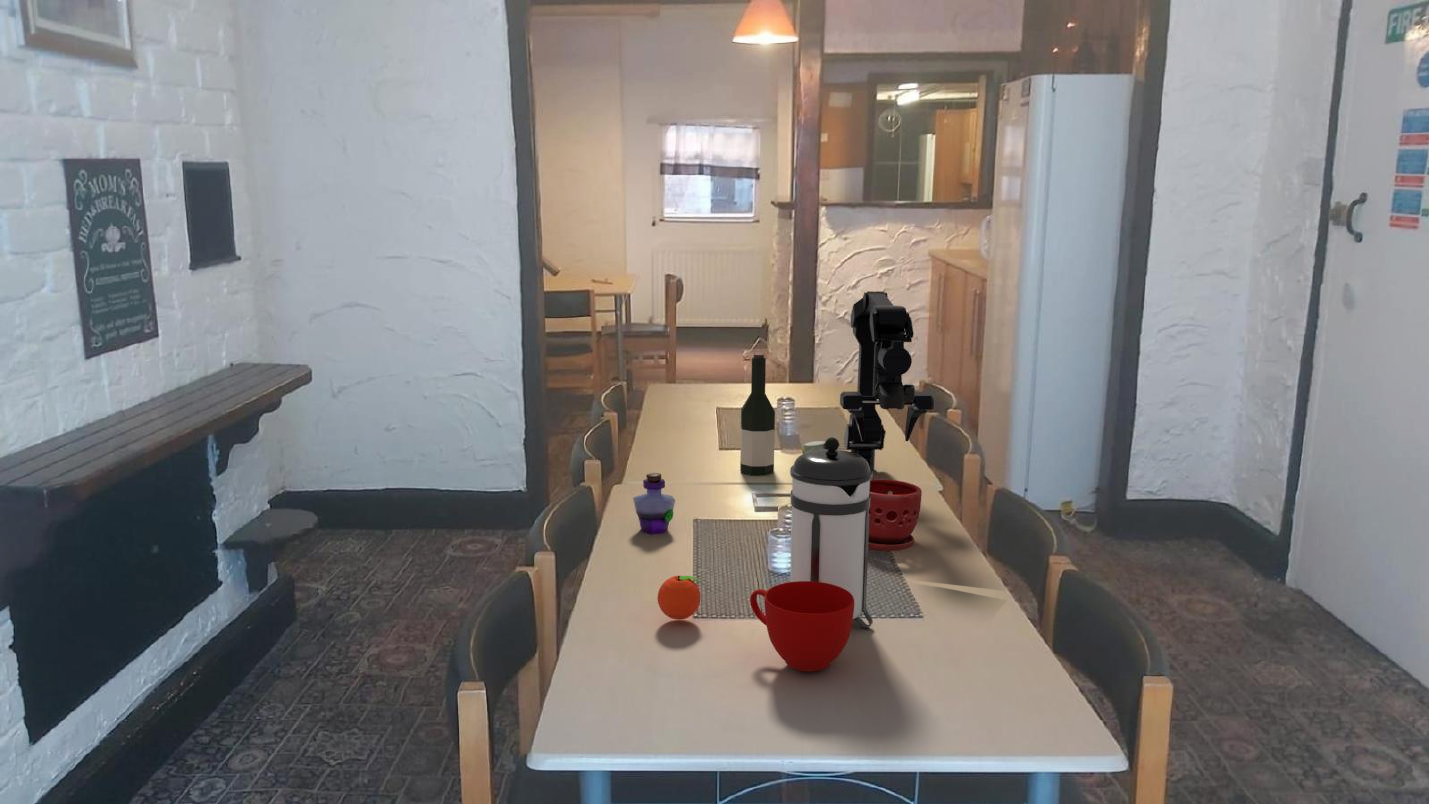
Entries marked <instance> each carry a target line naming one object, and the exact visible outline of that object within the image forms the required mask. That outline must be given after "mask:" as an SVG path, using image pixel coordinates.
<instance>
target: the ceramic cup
mask: <svg viewBox="0 0 1429 804" xmlns="http://www.w3.org/2000/svg"><path fill="white" fill-rule="evenodd" d="M758 595H760V596H762V597H763V598H764V612H762V610H761V608H760V606H759V604H758V600H757V599H758ZM749 598H750V599H749V603H750V606H751V609H752V610H751V611H752V612H753V614H754V615H755V617H756V618H757V619H758V621H760V622H761V623H763V624H764V625H765V626H766V630H767V633H768V637H769V641H770V642H771V644H772V646H773V648H774V649H775V652H776V653H777V654H778V655H779V656H780V658H781V659H782V660H783V661H784V662H785V664H786V665H787V666H788V667H790V668H791V669H795V670H798V671H803V672H817V671H821V670H825V669H827V668H828V667H830V665H831V664H832V663H833V662H834V661H835V660H836V659H837V658H838V657H839V656H840V655H841V653H842V652H843V650H844V649H845V648H846V645H847V643H848V641H849V638H850V634H851V630H852V625H853V621H854V620H853V613H854V598H853V595H852V594H851V593H850V592H848V591H847V590H845V589H843V588H841V587H839V586H836V585H832V584H828V583H822V582H813V581H796V582H790V581H788V582H784V583H779V584H777V585H776V584H775V585H774V586H772V587H770V588H769V589H768V590H765V589H763V588H758V589H755V590H754V591H753V592H752V593H751V594H750V597H749Z"/></svg>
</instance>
